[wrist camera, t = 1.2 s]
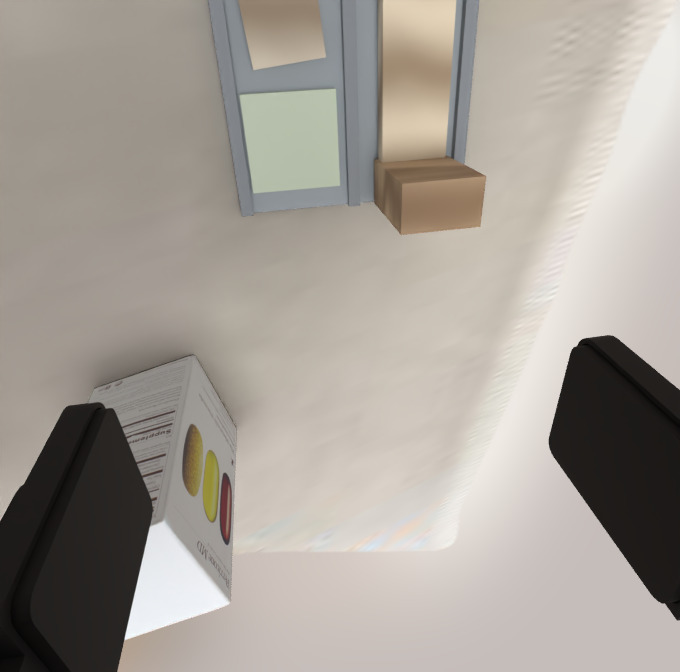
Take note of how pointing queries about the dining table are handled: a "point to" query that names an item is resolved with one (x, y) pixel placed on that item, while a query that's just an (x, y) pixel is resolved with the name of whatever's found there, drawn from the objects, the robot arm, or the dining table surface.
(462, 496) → the dining table surface
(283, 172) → the felt coaster
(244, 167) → the slate board
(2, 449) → the dining table surface
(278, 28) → the broken strip
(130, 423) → the supplement box
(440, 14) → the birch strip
